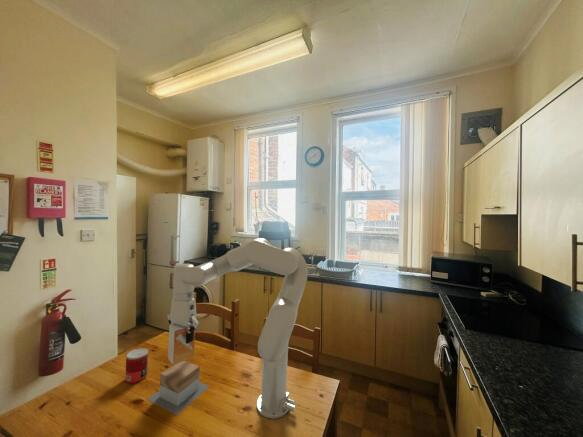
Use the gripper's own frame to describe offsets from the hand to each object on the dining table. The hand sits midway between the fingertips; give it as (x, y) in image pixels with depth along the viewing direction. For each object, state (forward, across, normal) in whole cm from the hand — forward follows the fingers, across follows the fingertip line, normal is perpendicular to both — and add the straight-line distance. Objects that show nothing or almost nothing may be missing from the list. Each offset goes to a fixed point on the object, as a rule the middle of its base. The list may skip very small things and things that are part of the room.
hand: (181, 339), depth 93 cm
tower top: (+17, 0, 0) cm, 17 cm away
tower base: (+21, 0, 0) cm, 21 cm away
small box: (+8, 0, 0) cm, 8 cm away
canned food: (+22, +24, +2) cm, 33 cm away
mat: (+22, 0, 0) cm, 22 cm away
